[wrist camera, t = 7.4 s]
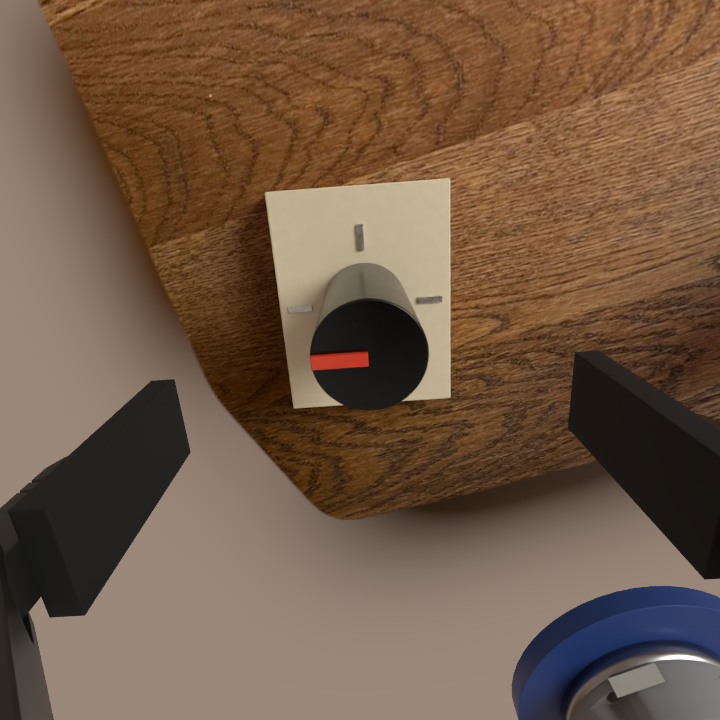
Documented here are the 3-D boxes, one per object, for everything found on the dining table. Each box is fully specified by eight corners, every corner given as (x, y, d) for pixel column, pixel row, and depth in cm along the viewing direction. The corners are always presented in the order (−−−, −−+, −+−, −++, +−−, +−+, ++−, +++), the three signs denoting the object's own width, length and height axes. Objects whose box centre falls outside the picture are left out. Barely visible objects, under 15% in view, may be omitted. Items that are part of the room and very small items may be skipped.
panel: (442, 379, 32) (451, 399, 29) (298, 389, 32) (293, 410, 29) (440, 178, 27) (451, 178, 24) (273, 191, 28) (263, 192, 25)
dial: (404, 259, 26) (429, 296, 17) (407, 340, 28) (431, 410, 19) (319, 265, 26) (302, 305, 17) (327, 345, 28) (315, 418, 19)
